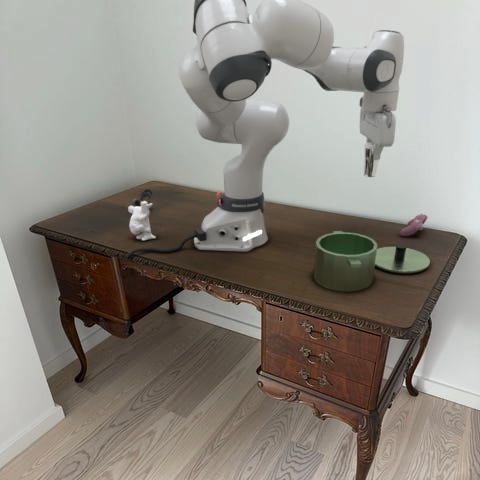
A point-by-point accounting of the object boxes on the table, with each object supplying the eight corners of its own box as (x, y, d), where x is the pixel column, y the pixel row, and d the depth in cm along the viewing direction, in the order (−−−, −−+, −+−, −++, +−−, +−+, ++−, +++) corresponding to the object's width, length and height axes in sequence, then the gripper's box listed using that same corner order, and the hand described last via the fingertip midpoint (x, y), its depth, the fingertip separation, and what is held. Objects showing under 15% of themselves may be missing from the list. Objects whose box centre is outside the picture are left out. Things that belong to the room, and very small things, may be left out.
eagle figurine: (157, 209, 165) (157, 196, 172) (143, 194, 161) (144, 182, 167) (140, 220, 168) (141, 208, 174) (127, 206, 163) (128, 193, 170)
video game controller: (410, 243, 140) (424, 225, 136) (397, 234, 141) (411, 216, 136) (418, 232, 147) (432, 215, 143) (406, 224, 148) (420, 206, 143)
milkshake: (381, 178, 130) (386, 140, 125) (361, 177, 131) (365, 140, 126) (380, 173, 134) (385, 137, 129) (361, 173, 135) (365, 136, 129)
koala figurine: (162, 236, 146) (157, 199, 140) (149, 244, 141) (144, 205, 135) (140, 232, 150) (134, 195, 143) (127, 240, 144) (120, 202, 138)
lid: (378, 276, 119) (380, 259, 117) (362, 251, 133) (364, 236, 130) (438, 274, 120) (442, 257, 117) (417, 249, 133) (419, 234, 130)
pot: (321, 298, 111) (324, 262, 106) (308, 262, 128) (310, 229, 122) (382, 296, 111) (388, 259, 106) (361, 260, 128) (365, 227, 123)
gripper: (405, 108, 114) (396, 165, 121) (380, 97, 131) (373, 149, 138) (379, 108, 114) (372, 166, 121) (357, 98, 131) (352, 149, 138)
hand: (373, 157), depth 130 cm, fingers closed on milkshake, 4 cm apart
